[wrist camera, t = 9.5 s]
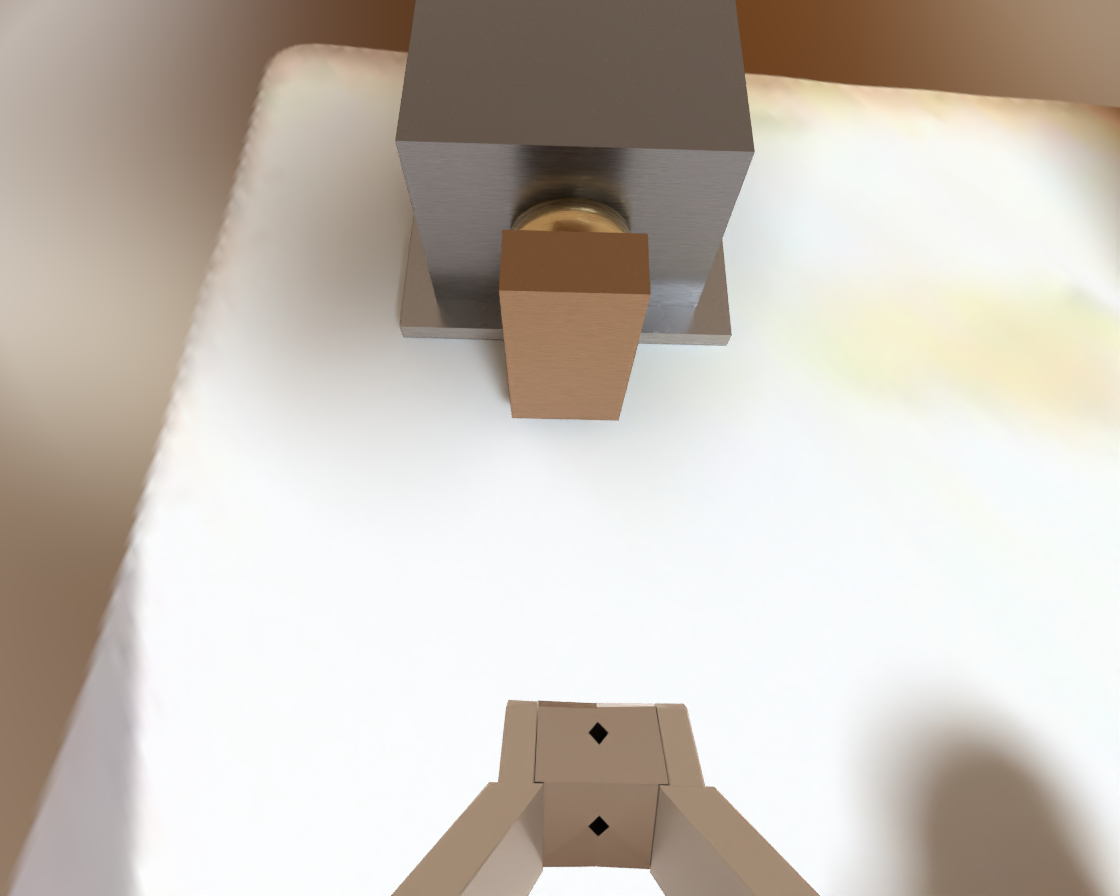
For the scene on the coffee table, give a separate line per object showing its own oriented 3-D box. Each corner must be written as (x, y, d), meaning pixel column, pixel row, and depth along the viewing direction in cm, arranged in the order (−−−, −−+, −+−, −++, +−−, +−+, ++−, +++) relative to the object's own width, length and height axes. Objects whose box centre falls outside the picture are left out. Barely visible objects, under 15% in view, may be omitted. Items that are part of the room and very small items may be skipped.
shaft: (621, 420, 37) (655, 294, 26) (508, 417, 37) (493, 290, 26) (615, 141, 45) (639, -47, 34) (522, 138, 45) (515, -51, 34)
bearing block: (726, 345, 41) (804, 188, 29) (403, 337, 41) (343, 174, 28) (706, 130, 48) (762, -72, 35) (429, 121, 47) (390, -86, 35)
